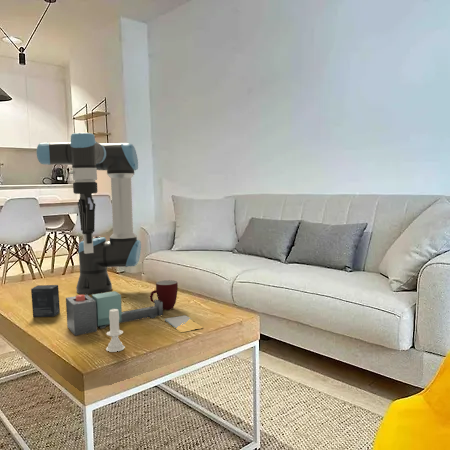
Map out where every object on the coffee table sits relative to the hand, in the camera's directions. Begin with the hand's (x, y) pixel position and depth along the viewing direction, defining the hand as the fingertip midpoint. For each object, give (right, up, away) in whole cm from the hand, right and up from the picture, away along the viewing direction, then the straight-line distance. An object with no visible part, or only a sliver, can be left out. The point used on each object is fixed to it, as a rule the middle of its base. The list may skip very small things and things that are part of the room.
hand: (88, 252), depth 145 cm
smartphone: (+31, -25, +2) cm, 40 cm away
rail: (+11, -24, +7) cm, 27 cm away
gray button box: (-2, -25, -1) cm, 25 cm away
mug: (+22, -23, +20) cm, 38 cm away
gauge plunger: (-2, -17, -2) cm, 18 cm away
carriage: (+5, -24, +3) cm, 25 cm away
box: (-20, -24, +15) cm, 35 cm away
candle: (+14, -27, -19) cm, 35 cm away
